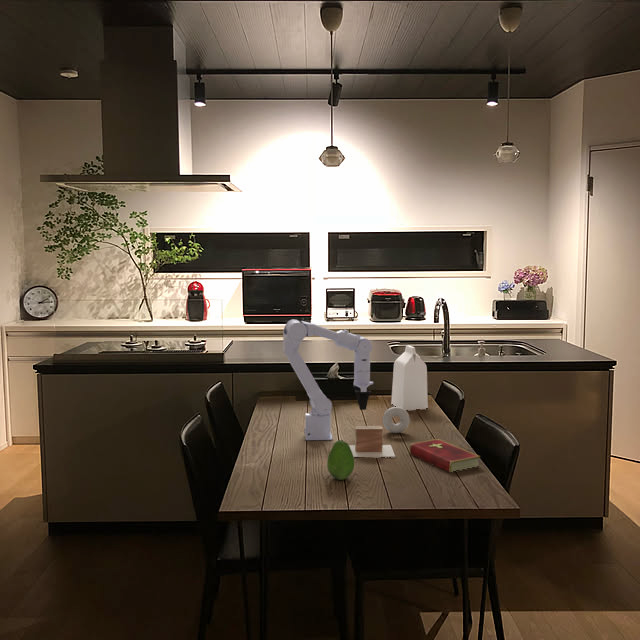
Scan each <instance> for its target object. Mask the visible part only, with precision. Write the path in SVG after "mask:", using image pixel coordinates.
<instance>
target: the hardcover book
mask: <svg viewBox="0 0 640 640" xmlns="http://www.w3.org/2000/svg"><path fill="white" fill-rule="evenodd" d="M409 454H410V455H411V456H413V457H416V458H418V459H420V460H422V461H424V462H426V463H428V464H430V465H432V464H433V465H432V466H435V467H437V468H439V469H441V468H442V469H441V470H443V469H444V470H443V471H445V470H446V471H445V472H447V471H449V472H452V473H454V472H453V471H456V470H460V471H463V470H462V469H465V470H468V469H467V468H470V469H473V468H472V467H475V468H478V467H479V459H481V455H478V454H476V453H473V452H471V451H469V450H466V449H463V448H462V447H459V446H458V445H457V446H456V445H455V444H452V443H449V442H447V441H445V440H443V439H440V438H433V439H429V440H424V441H418V442H413V443H409ZM477 466H478V467H477ZM449 472H448V473H449ZM456 472H457V471H456Z"/></svg>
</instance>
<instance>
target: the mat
mask: <svg viewBox="0 0 640 640" xmlns="http://www.w3.org/2000/svg"><path fill="white" fill-rule="evenodd" d="M348 445H349V446H350V449H351V451H352V454H353V457H375V458H374V459H382V458H381V457H385V458H387V457H388V458H387V459H389V457H391V458H393V459H395V458H396V455H395V454H396V453H395V452H394V450H393V447H392V445H391V444H383V447H382V452H356V451H355V444H348ZM391 458H390V459H391Z"/></svg>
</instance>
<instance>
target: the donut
mask: <svg viewBox="0 0 640 640" xmlns="http://www.w3.org/2000/svg"><path fill="white" fill-rule="evenodd" d="M382 416H383V417H382V424H383V427H384V428H385V430H387V431H388V432H389V433H391V434H392V433H393V434H398V433H402V432H404V431H406V429H407V428H408V427H409V425H410V421H411V419H410V415H409V413H408V411H406V410H405V409H403V408H401V407H395V406H392V407H390V408H388V409H386V410H385V412H384V414H383V415H382ZM394 417H399V418H400V421H399V422H398V423H394V422H393V418H394Z"/></svg>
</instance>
